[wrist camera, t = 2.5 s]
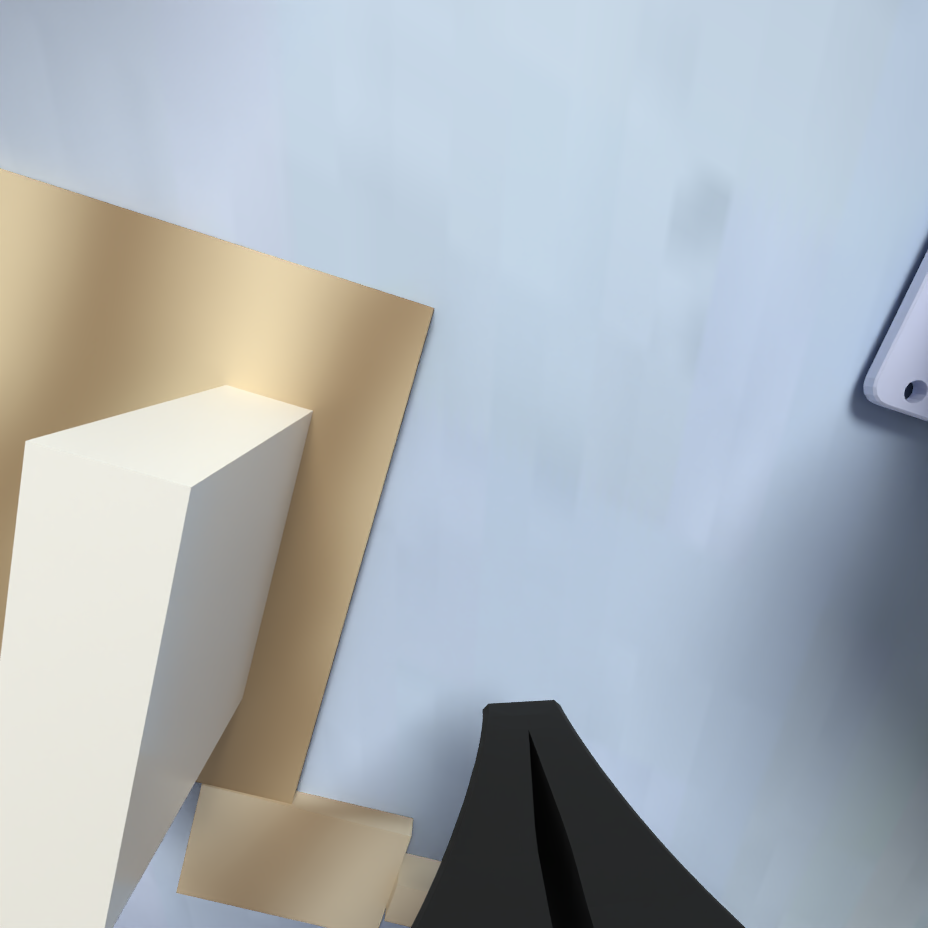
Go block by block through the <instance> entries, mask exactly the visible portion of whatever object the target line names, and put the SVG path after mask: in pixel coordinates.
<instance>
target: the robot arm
mask: <svg viewBox="0 0 928 928" xmlns="http://www.w3.org/2000/svg"><path fill="white" fill-rule="evenodd" d="M911 382H912V384H913V387H914V388H913V392H912V394H911V395H910V396H909V398H907V399H905V396H904V392H905V388H906V387H907V386H908V384H909V383H911ZM863 388H864V394H865V396H866V398H867V399H868V400H869V401H870V402H872V403H874V404H876V405H879V406H882V407H885V408H888V409H891V410H894V411H897V412H900V413H903V414H906V415H909V416H912V417H915V418H918V419H921V420H924V421H928V250H927V252H926V254H925V257H924V259H923V261H922V263H921V265H920V267H919V269H918V271H917V273H916V275H915V277H914V279H913V281H912V283H911V285H910V287H909V289H908V291H907V293H906V295H905V297H904V300H903V302H902V304H901V306H900V308H899V310H898V312H897V314H896V316H895V318H894V320H893V322H892V324H891V326H890V328H889V330H888V332H887V334H886V336H885V338H884V341H883V343H882V345H881V347H880V349H879V351H878V353H877V355H876V357H875V359H874V361H873V363H872V365H871V367H870V369H869V371H868V373H867V375H866V378H865V381H864V385H863ZM411 928H745V927H744V926H743V925H742V924H741V923H740V922H739V921H738V920H737V919H736V918H735V917H734V916H733V915H732V914H731V913H730V912H729V911H727V910H726V909H725V908H724V907H723V906H722V905H721V904H720V903H719V902H718V901H717V900H716V899H715V898H714V897H713V896H712V895H711V894H710V893H709V892H708V891H707V890H706V889H705V888H704V887H703V886H702V885H701V884H700V883H699V882H698V881H697V880H696V879H695V878H694V877H693V876H692V875H691V874H690V873H689V872H688V871H687V870H686V868H685V867H684V866H683V865H682V864H681V863H680V862H679V861H678V860H677V859H676V858H675V857H674V856H673V855H672V853H671V852H670V851H669V850H668V849H667V848H666V847H665V846H664V845H663V843H662V842H661V841H660V840H659V839H658V838H657V837H656V836H655V834H654V833H653V832H652V831H651V830H650V829H649V827H648V826H647V825H646V824H645V823H644V822H643V820H642V819H641V818H640V817H639V816H638V814H637V813H636V812H635V811H634V810H633V808H632V807H631V806H630V805H629V803H628V802H627V801H626V800H625V798H624V797H623V796H622V795H621V793H620V792H619V791H618V789H617V788H616V787H615V786H614V784H613V783H612V782H611V780H610V779H609V778H608V776H607V775H606V774H605V772H604V771H603V770H602V768H601V767H600V766H599V764H598V763H597V762H596V760H595V759H594V757H593V756H592V755H591V753H590V752H589V750H588V749H587V747H586V746H585V744H584V743H583V742H582V740H581V739H580V737H579V736H578V734H577V733H576V731H575V729H574V728H573V726H572V725H571V723H570V722H569V720H568V718H567V717H566V715H565V713H564V711H563V710H562V708H561V706H560V705H559V704H558V703H557V702H556V701H555V700H546V701H529V702H511V703H493V704H488V705H487V706H486V707H485V708H484V709H483V722H482V731H481V738H480V743H479V748H478V752H477V757H476V761H475V765H474V768H473V772H472V775H471V779H470V782H469V786H468V789H467V793H466V796H465V799H464V802H463V805H462V808H461V811H460V814H459V817H458V819H457V822H456V825H455V828H454V830H453V833H452V836H451V839H450V841H449V844H448V847H447V849H446V852H445V854H444V856H443V859H442V861H441V864H440V866H439V868H438V871H437V873H436V875H435V878H434V880H433V882H432V884H431V887H430V889H429V891H428V893H427V895H426V898H425V900H424V902H423V904H422V906H421V908H420V910H419V912H418V914H417V916H416V918H415V920H414V922H413V924H412V926H411Z"/></svg>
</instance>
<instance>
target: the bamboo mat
mask: <svg viewBox="0 0 928 928" xmlns="http://www.w3.org/2000/svg"><path fill="white" fill-rule="evenodd" d="M433 311H434V308H432V307H429V306H426V305H423V304H420V303H416V302H413V301H410V300H407V299H404V298H401V297H398V296H395V295H392V294H388V293H385V292H382V291H379V290H376V289H373V288H370V287H367V286H364V285H361V284H357V283H354V282H351V281H348V280H345V279H342V278H339V277H336V276H333V275H329V274H326V273H323V272H320V271H317V270H314V269H311V268H308V267H305V266H302V265H298V264H295V263H292V262H289V261H286V260H283V259H280V258H277V257H274V256H270V255H267V254H264V253H261V252H258V251H255V250H252V249H249V248H246V247H243V246H239V245H236V244H233V243H230V242H227V241H224V240H221V239H218V238H215V237H211V236H208V235H205V234H202V233H199V232H196V231H193V230H190V229H187V228H184V227H180V226H177V225H174V224H171V223H168V222H165V221H162V220H159V219H156V218H152V217H149V216H146V215H143V214H140V213H137V212H134V211H131V210H128V209H125V208H121V207H118V206H115V205H112V204H109V203H106V202H103V201H100V200H97V199H93V198H90V197H87V196H84V195H81V194H78V193H75V192H72V191H69V190H66V189H62V188H59V187H56V186H53V185H50V184H47V183H44V182H41V181H38V180H35V179H31V178H28V177H25V176H22V175H19V174H16V173H13V172H10V171H7V170H3V169H0V656H1V648H2V639H3V630H4V622H5V613H6V605H7V596H8V587H9V579H10V570H11V561H12V553H13V544H14V536H15V527H16V518H17V510H18V501H19V493H20V484H21V475H22V467H23V458H24V449H25V441H27V440H30V439H34V438H38V437H41V436H45V435H48V434H52V433H56V432H59V431H63V430H66V429H70V428H74V427H77V426H81V425H84V424H88V423H92V422H95V421H99V420H102V419H106V418H109V417H113V416H117V415H120V414H124V413H127V412H131V411H135V410H138V409H142V408H145V407H149V406H153V405H156V404H160V403H163V402H167V401H171V400H174V399H178V398H181V397H185V396H189V395H192V394H196V393H199V392H203V391H206V390H210V389H214V388H217V387H221V386H224V385H228V386H232V387H235V388H238V389H242V390H245V391H248V392H252V393H255V394H258V395H262V396H265V397H268V398H272V399H275V400H278V401H282V402H285V403H288V404H292V405H295V406H298V407H302V408H305V409H309V410H312V411H313V413H312V417H311V421H310V425H309V429H308V433H307V437H306V441H305V445H304V449H303V453H302V457H301V462H300V466H299V470H298V474H297V478H296V482H295V486H294V490H293V494H292V498H291V502H290V506H289V511H288V515H287V519H286V523H285V527H284V531H283V535H282V539H281V543H280V547H279V551H278V556H277V560H276V564H275V568H274V572H273V576H272V580H271V584H270V588H269V592H268V596H267V600H266V605H265V609H264V613H263V617H262V621H261V625H260V629H259V633H258V637H257V641H256V645H255V649H254V654H253V658H252V662H251V666H250V670H249V674H248V678H247V682H246V686H245V690H244V694H243V698H242V700H241V702H240V704H239V705H238V707H237V709H236V711H235V712H234V714H233V716H232V718H231V720H230V721H229V723H228V725H227V727H226V728H225V730H224V732H223V734H222V736H221V737H220V739H219V741H218V743H217V744H216V746H215V748H214V750H213V751H212V753H211V755H210V757H209V759H208V760H207V762H206V764H205V766H204V767H203V769H202V771H201V773H200V774H199V776H198V778H197V780H196V782H199V783H203V784H207V785H212V786H216V787H220V788H225V789H229V790H233V791H237V792H242V793H246V794H250V795H255V796H259V797H263V798H267V799H272V800H276V801H280V802H285V803H289V804H292V802H293V799H294V796H295V793H296V790H297V786H298V783H299V779H300V776H301V772H302V769H303V765H304V762H305V758H306V755H307V751H308V748H309V744H310V741H311V737H312V734H313V730H314V727H315V723H316V720H317V716H318V713H319V709H320V706H321V702H322V699H323V695H324V692H325V688H326V685H327V681H328V678H329V674H330V671H331V667H332V664H333V660H334V657H335V653H336V650H337V646H338V643H339V639H340V636H341V632H342V629H343V625H344V622H345V619H346V615H347V612H348V608H349V605H350V601H351V598H352V594H353V591H354V587H355V584H356V580H357V577H358V573H359V570H360V566H361V563H362V559H363V556H364V552H365V549H366V545H367V542H368V538H369V535H370V531H371V528H372V524H373V521H374V517H375V514H376V510H377V507H378V503H379V500H380V496H381V493H382V489H383V486H384V482H385V479H386V475H387V472H388V468H389V465H390V461H391V458H392V454H393V451H394V447H395V444H396V441H397V437H398V434H399V430H400V427H401V423H402V420H403V416H404V413H405V409H406V406H407V402H408V399H409V395H410V392H411V388H412V385H413V381H414V378H415V374H416V371H417V367H418V364H419V360H420V357H421V353H422V350H423V346H424V343H425V339H426V336H427V332H428V329H429V325H430V322H431V318H432V315H433Z"/></svg>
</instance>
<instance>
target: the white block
mask: <svg viewBox="0 0 928 928" xmlns="http://www.w3.org/2000/svg"><path fill="white" fill-rule="evenodd" d="M312 413H313V411H312V410H309V409H305V408H302V407H298V406H295V405H292V404H288V403H285V402H282V401H278V400H275V399H272V398H268V397H265V396H262V395H258V394H255V393H252V392H248V391H245V390H242V389H238V388H235V387H232V386H228V385H224V386H221V387H217V388H214V389H210V390H206V391H203V392H199V393H196V394H192V395H189V396H185V397H181V398H178V399H174V400H171V401H167V402H163V403H160V404H156V405H153V406H149V407H145V408H142V409H138V410H135V411H131V412H127V413H124V414H120V415H117V416H113V417H109V418H106V419H102V420H99V421H95V422H92V423H88V424H84V425H81V426H77V427H74V428H70V429H66V430H63V431H59V432H56V433H52V434H48V435H45V436H41V437H38V438H34V439H30V440H27V441H25V449H24V458H23V467H22V475H21V484H20V493H19V501H18V510H17V518H16V527H15V536H14V544H13V553H12V561H11V570H10V579H9V587H8V596H7V605H6V613H5V622H4V630H3V639H2V648H1V656H0V928H113V927H114V925H115V923H116V921H117V920H118V918H119V916H120V914H121V913H122V911H123V909H124V907H125V905H126V904H127V902H128V900H129V898H130V897H131V895H132V893H133V891H134V890H135V888H136V886H137V884H138V882H139V881H140V879H141V877H142V875H143V874H144V872H145V870H146V868H147V867H148V865H149V863H150V861H151V859H152V858H153V856H154V854H155V852H156V851H157V849H158V847H159V845H160V843H161V842H162V840H163V838H164V836H165V835H166V833H167V831H168V829H169V828H170V826H171V824H172V822H173V820H174V819H175V817H176V815H177V813H178V812H179V810H180V808H181V806H182V805H183V803H184V801H185V799H186V797H187V796H188V794H189V792H190V790H191V789H192V787H193V785H194V783H195V782H196V780H197V778H198V776H199V774H200V773H201V771H202V769H203V767H204V766H205V764H206V762H207V760H208V759H209V757H210V755H211V753H212V751H213V750H214V748H215V746H216V744H217V743H218V741H219V739H220V737H221V736H222V734H223V732H224V730H225V728H226V727H227V725H228V723H229V721H230V720H231V718H232V716H233V714H234V712H235V711H236V709H237V707H238V705H239V704H240V702H241V700H242V698H243V694H244V690H245V686H246V682H247V678H248V674H249V670H250V666H251V662H252V658H253V654H254V649H255V645H256V641H257V637H258V633H259V629H260V625H261V621H262V617H263V613H264V609H265V605H266V600H267V596H268V592H269V588H270V584H271V580H272V576H273V572H274V568H275V564H276V560H277V556H278V551H279V547H280V543H281V539H282V535H283V531H284V527H285V523H286V519H287V515H288V511H289V506H290V502H291V498H292V494H293V490H294V486H295V482H296V478H297V474H298V470H299V466H300V462H301V457H302V453H303V449H304V445H305V441H306V437H307V433H308V429H309V425H310V421H311V417H312Z"/></svg>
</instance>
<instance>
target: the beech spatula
mask: <svg viewBox="0 0 928 928" xmlns="http://www.w3.org/2000/svg"><path fill="white" fill-rule="evenodd" d="M412 825H413V818H409V817H405V816H401V815H396V814H392V813H388V812H384V811H379V810H375V809H371V808H367V807H362V806H358V805H354V804H350V803H345V802H341V801H337V800H333V799H328V798H324V797H320V796H316V795H311V794H307V793H303V792H299V791H296V793H295V796H294V799H293V802H292V804H289V803H285V802H280V801H276V800H272V799H267V798H263V797H259V796H255V795H250V794H246V793H242V792H237V791H233V790H229V789H225V788H220V787H216V786H212V785H207V784H203V783H202V785H201V789H200V794H199V798H198V802H197V807H196V811H195V815H194V819H193V824H192V828H191V832H190V837H189V841H188V845H187V849H186V854H185V858H184V862H183V866H182V871H181V875H180V879H179V884H178V888H177V892H176V893H180V894H184V895H188V896H193V897H197V898H201V899H206V900H210V901H214V902H219V903H223V904H227V905H232V906H236V907H240V908H245V909H249V910H253V911H258V912H262V913H266V914H271V915H275V916H279V917H284V918H288V919H292V920H297V921H301V922H305V923H310V924H314V925H318V926H323V927H327V928H379V926H380V923H381V920H382V917H383V914H384V912H385V909H386V913H385V920H384V921H387V922H391V923H395V924H399V925H404V926H408V927H411V926H412V924H413V922H414V920H415V918H416V916H417V914H418V912H419V910H420V908H421V906H422V904H423V902H424V900H425V898H426V895H427V893H428V891H429V889H430V887H431V884H432V882H433V880H434V878H435V875H436V873H437V871H438V868H439V866H440V864H441V861H438V860H433V859H429V858H425V857H421V856H416V855H412V854H408V853H406V850H407V847H408V845H409V842H410V839H411V835H412Z"/></svg>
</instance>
